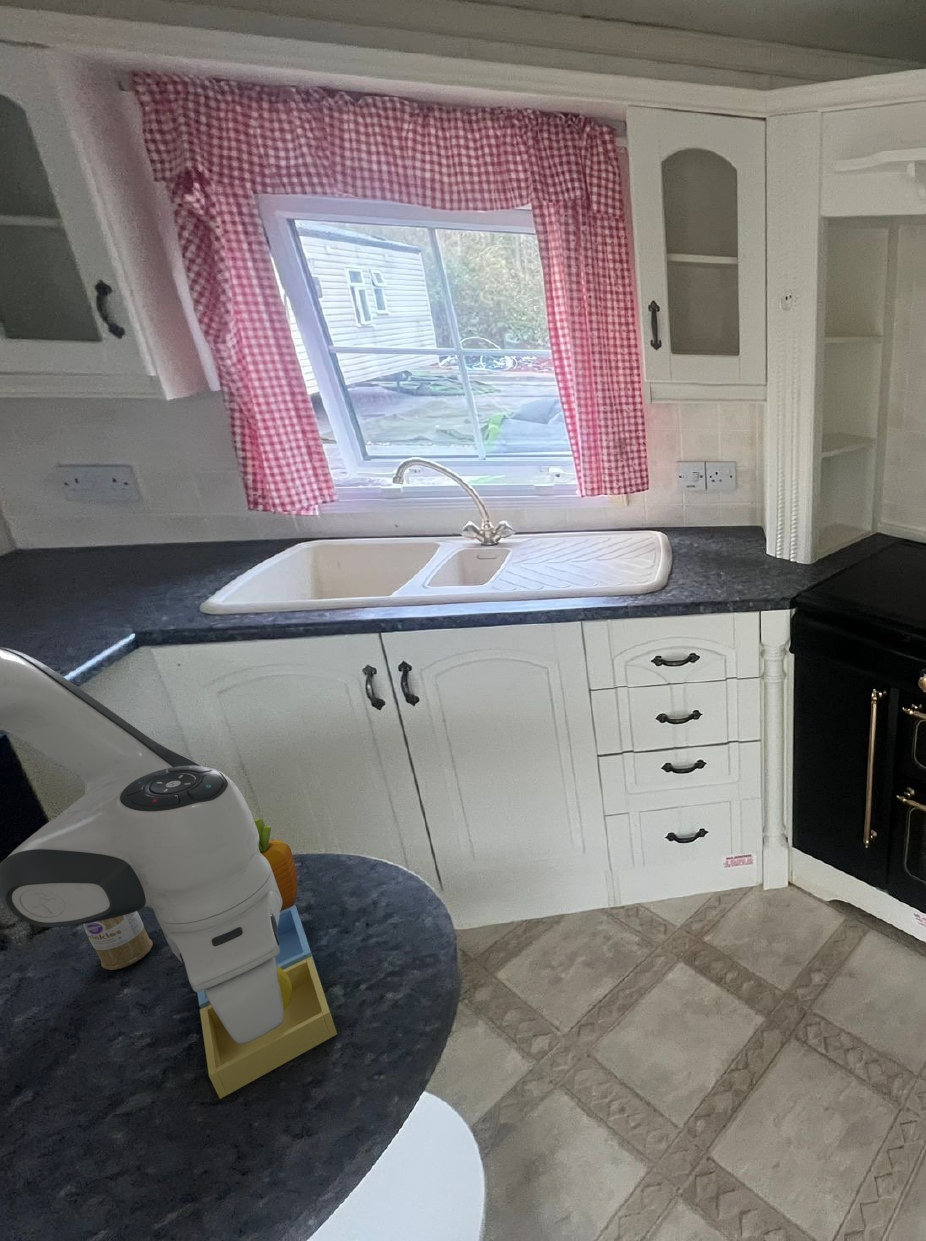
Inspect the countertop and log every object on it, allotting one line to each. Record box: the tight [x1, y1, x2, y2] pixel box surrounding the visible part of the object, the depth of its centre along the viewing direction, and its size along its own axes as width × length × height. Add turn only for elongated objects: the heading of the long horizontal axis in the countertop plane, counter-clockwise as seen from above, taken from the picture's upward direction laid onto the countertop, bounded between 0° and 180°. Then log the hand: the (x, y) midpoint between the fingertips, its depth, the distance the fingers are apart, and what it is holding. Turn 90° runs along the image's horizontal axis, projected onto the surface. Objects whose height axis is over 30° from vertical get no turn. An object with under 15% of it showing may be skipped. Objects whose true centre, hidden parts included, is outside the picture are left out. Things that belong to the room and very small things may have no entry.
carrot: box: [254, 818, 298, 911], centre depth 90 cm, size 5×5×15 cm
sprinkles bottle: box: [82, 911, 154, 971], centre depth 83 cm, size 5×5×14 cm
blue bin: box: [196, 904, 319, 1010], centre depth 84 cm, size 10×10×4 cm
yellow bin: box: [199, 956, 338, 1100], centre depth 77 cm, size 10×10×4 cm
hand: (261, 1005), depth 76 cm, fingers closed on lemon, 5 cm apart
